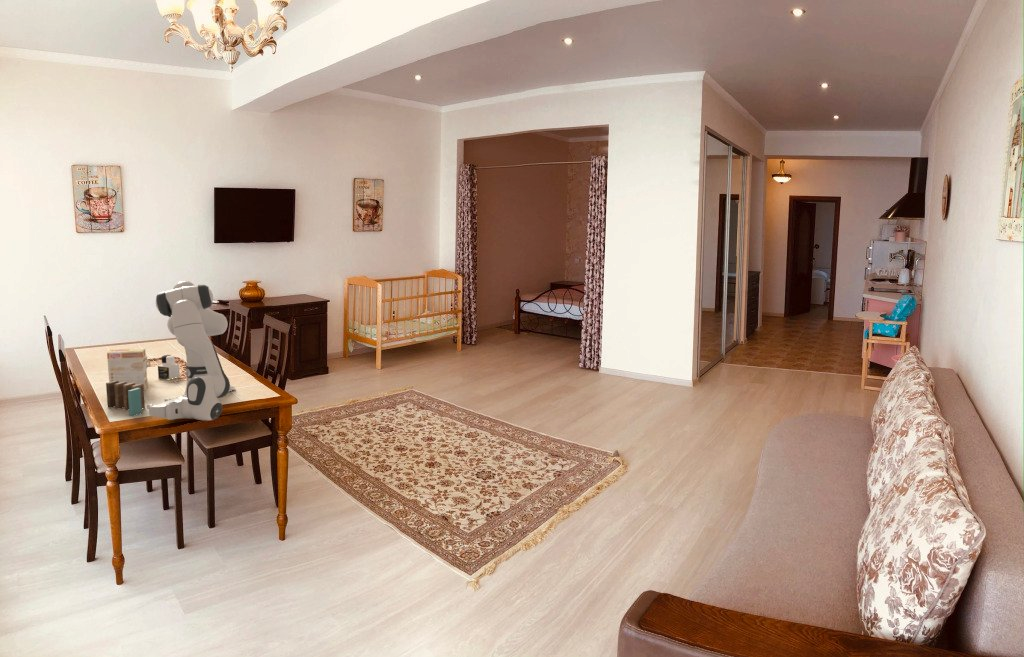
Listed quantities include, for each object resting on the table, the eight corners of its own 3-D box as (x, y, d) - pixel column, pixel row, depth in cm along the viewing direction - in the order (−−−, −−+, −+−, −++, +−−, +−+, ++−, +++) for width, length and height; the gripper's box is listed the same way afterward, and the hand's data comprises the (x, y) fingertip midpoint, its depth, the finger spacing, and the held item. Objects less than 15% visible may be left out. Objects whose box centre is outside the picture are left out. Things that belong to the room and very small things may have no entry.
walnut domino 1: (128, 405, 296) (126, 381, 294) (118, 408, 291) (117, 384, 289) (125, 405, 296) (123, 381, 294) (116, 408, 291) (114, 384, 289)
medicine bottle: (158, 379, 343) (156, 356, 341) (169, 376, 349) (168, 353, 347) (169, 380, 341) (167, 357, 339) (180, 377, 347) (178, 354, 345)
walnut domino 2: (136, 407, 294) (135, 382, 293) (127, 410, 290) (125, 385, 288) (133, 406, 295) (132, 382, 293) (124, 409, 290) (122, 385, 288)
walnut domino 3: (145, 408, 293) (143, 383, 291) (135, 411, 288) (134, 386, 287) (142, 407, 294) (140, 383, 292) (132, 410, 289) (131, 386, 287)
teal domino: (142, 413, 286) (140, 388, 284) (132, 416, 281) (130, 390, 280) (139, 412, 287) (137, 387, 285) (129, 415, 282) (127, 390, 280)
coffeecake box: (148, 387, 326) (145, 348, 323) (145, 391, 320) (142, 351, 316) (113, 389, 322) (110, 349, 318) (109, 393, 315) (106, 352, 312)
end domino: (120, 404, 297) (118, 380, 295) (110, 407, 292) (108, 383, 290) (117, 404, 297) (115, 380, 295) (107, 407, 292) (105, 383, 291)
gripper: (202, 393, 286) (175, 390, 289) (165, 406, 266) (137, 402, 270) (203, 407, 287) (176, 404, 290) (166, 421, 267) (138, 417, 271)
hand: (157, 403), depth 280 cm, fingers open, 8 cm apart
